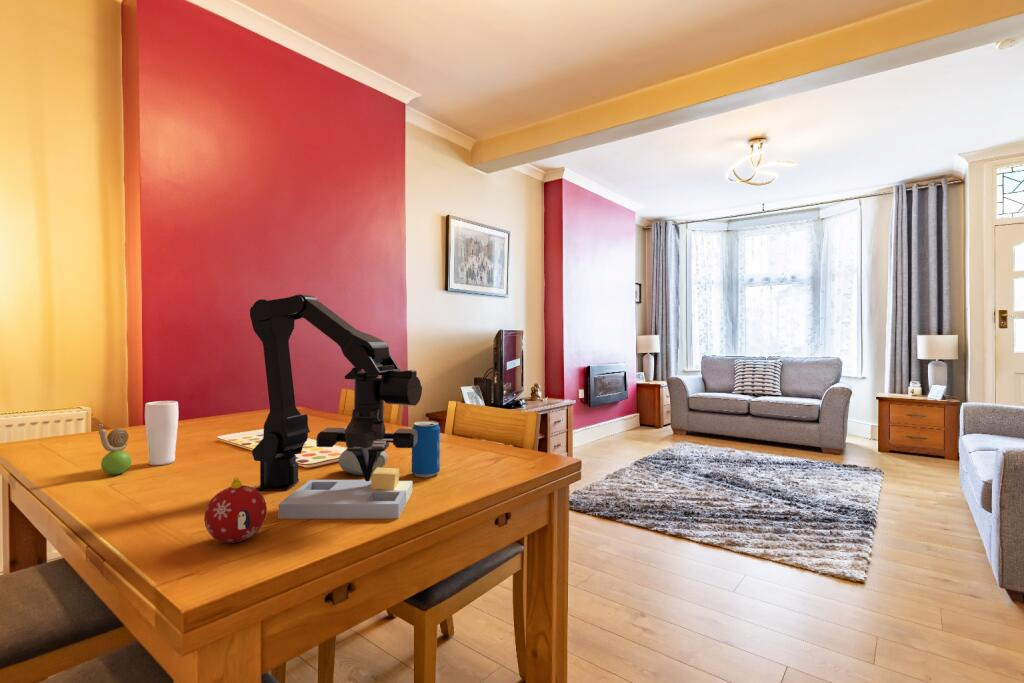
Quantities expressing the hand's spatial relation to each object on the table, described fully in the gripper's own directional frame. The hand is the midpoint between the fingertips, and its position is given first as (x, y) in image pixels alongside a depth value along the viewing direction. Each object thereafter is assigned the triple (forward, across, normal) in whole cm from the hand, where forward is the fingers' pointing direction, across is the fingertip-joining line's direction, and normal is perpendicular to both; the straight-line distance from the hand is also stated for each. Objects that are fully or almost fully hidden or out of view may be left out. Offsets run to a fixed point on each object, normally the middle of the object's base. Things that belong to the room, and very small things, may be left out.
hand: (367, 480), depth 99 cm
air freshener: (+4, -6, +19) cm, 20 cm away
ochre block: (+1, +3, 0) cm, 3 cm away
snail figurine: (+4, -61, +15) cm, 63 cm away
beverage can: (+4, +9, +17) cm, 19 cm away
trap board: (+4, -2, -3) cm, 5 cm away
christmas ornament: (+4, -15, -20) cm, 26 cm away
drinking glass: (+4, -57, +25) cm, 62 cm away
